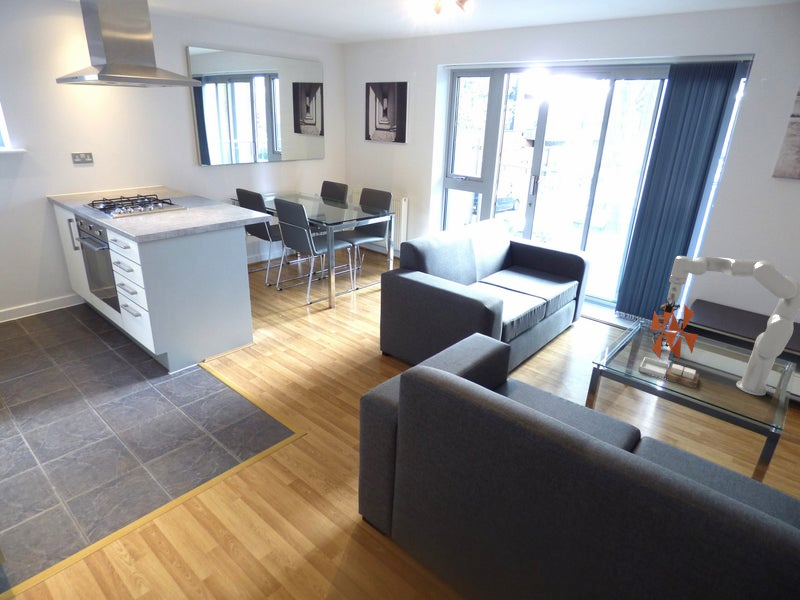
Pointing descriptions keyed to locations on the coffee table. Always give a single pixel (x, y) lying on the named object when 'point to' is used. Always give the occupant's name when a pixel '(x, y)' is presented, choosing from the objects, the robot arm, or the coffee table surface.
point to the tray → (653, 367)
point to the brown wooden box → (682, 378)
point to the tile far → (677, 369)
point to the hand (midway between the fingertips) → (669, 309)
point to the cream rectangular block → (689, 372)
